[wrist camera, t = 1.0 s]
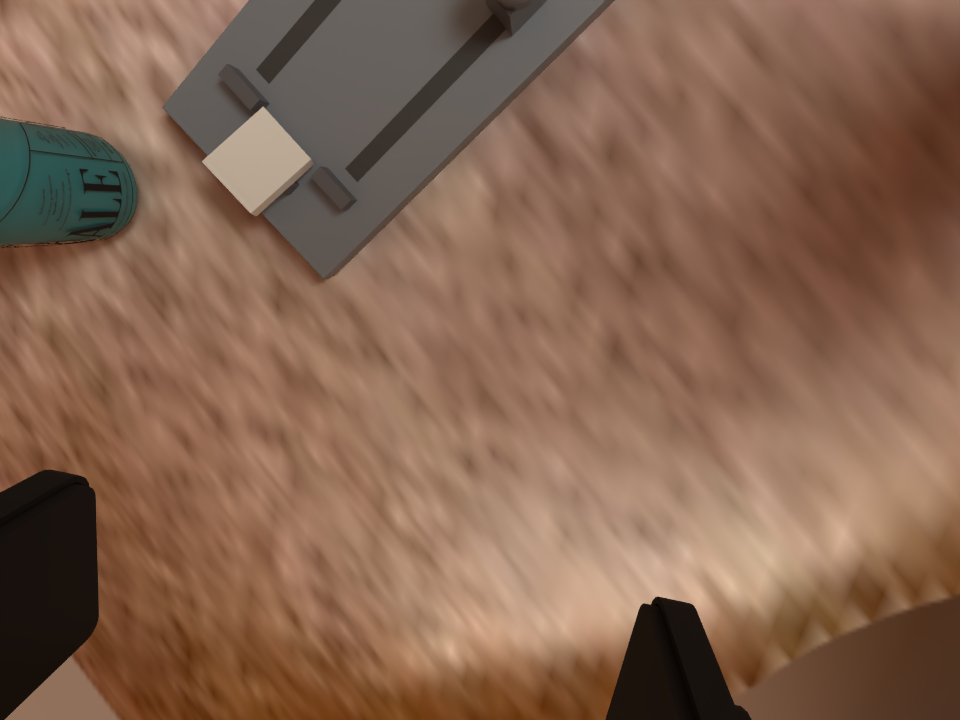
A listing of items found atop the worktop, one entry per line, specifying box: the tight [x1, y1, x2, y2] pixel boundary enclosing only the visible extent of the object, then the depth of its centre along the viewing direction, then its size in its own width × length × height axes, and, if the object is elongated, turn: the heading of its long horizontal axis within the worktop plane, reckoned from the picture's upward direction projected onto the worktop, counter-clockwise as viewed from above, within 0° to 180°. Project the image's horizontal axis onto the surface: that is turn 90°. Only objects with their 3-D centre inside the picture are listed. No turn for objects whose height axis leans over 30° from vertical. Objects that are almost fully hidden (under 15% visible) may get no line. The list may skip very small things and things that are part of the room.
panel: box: [162, 0, 614, 279], centre depth 30 cm, size 24×13×3 cm, turn 132°
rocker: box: [202, 107, 314, 216], centre depth 30 cm, size 4×4×1 cm
